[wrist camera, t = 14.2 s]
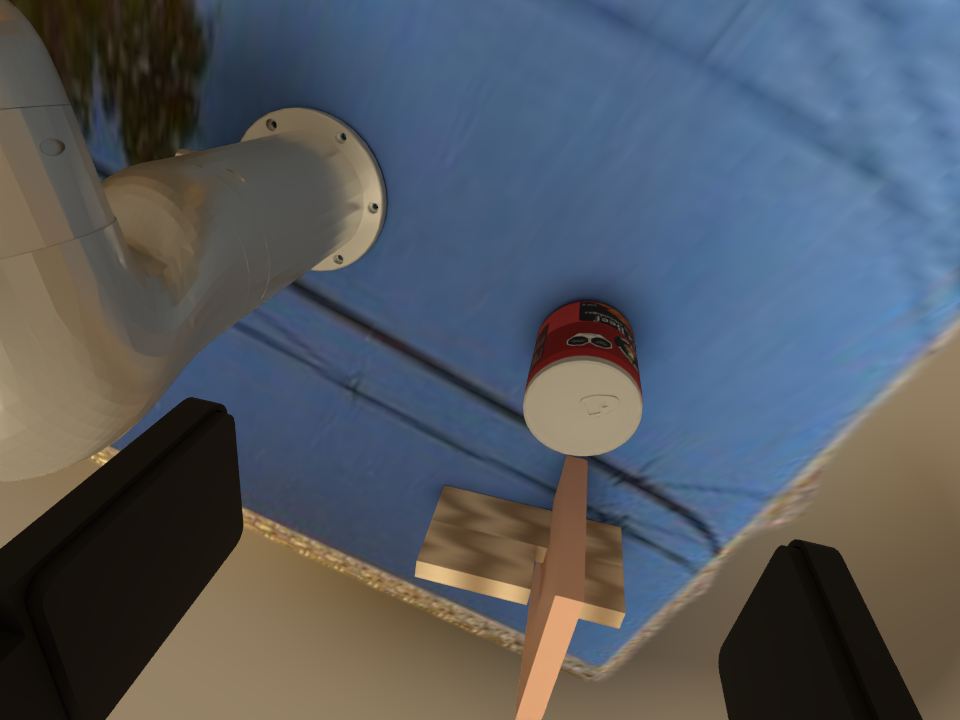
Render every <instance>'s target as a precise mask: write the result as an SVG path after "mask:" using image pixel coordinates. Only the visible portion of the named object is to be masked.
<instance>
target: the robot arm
mask: <svg viewBox="0 0 960 720" xmlns="http://www.w3.org/2000/svg"><path fill="white" fill-rule="evenodd" d="M275 122H276V124H277V127H276V126H275ZM343 133H344V134H345V135H346V140H345V139H344V138H343ZM374 203H376V204H377V205H378V209H377V208H375V206H374ZM386 206H387V200H386V188H385V184H384V180H383V176H382V172H381V170H380V168H379V165H378V163H377V161H376V158H375V156H374V155H373V153H372V152H371V150H370V149H369V147H368V146H367V144H366V143H365V142H364V141H363V139H362V138H361V137H360V136H359V135H358V134H357V133H356V132H355V131H354V130H353V129H352V128H350V127H349V126H348V125H347V124H345V123H344V122H343V121H341V120H340V119H338V118H336V117H334V116H332V115H330V114H328V113H326V112H323V111H319V110H316V109H312V108H301V107H294V108H285V109H281V110H277V111H274V112H270V113H268V114H267V115H265V116H263V117H261V118H260V119H258V120H257V121H256V122H255V123H254V124H253V125H252V126H250V127H249V128H248V129H247V131H246V133H245V134H244V136H243V137H242V139H241V140H240V142H239V143H234V144H230V145H225V146H220V147H216V148H211V149H207V150H202V151H194V150H189V149H184V148H183V149H179V150H178V151H177V152H176V155H175V157H171V158H166V159H160V160H154V161H149V162H145V163H141V164H137V165H134V166H131V167H128V168H125V169H123V170H121V171H118V172H117V173H115V174H113V175H111V176H109V177H108V178H106V179H105V180H103V181H102V182H101V181H100V179H99V176H98V174H97V171H96V168H95V166H94V163H93V161H92V158H91V156H90V153H89V150H88V148H87V145H86V143H85V140H84V137H83V135H82V132H81V130H80V127H79V125H78V122H77V119H76V117H75V114H74V112H73V109H72V106H71V104H70V102H69V100H68V97H67V94H66V92H65V89H64V87H63V84H62V82H61V79H60V77H59V75H58V72H57V70H56V68H55V66H54V64H53V61H52V59H51V57H50V55H49V52H48V51H47V49H46V47H45V45H44V43H43V42H42V40H41V38H40V37H39V35H38V34H37V32H36V31H35V29H34V28H33V26H32V25H31V23H30V22H29V21H28V20H27V19H26V18H25V16H24V15H23V14H22V13H21V12H20V10H18V9H17V8H16V7H15V6H14V5H13V4H12V3H11V2H9V1H8V0H0V481H17V480H24V479H30V478H35V477H40V476H43V475H47V474H50V473H53V472H56V471H60V470H63V469H65V468H68V467H70V466H72V465H75V464H77V463H79V462H81V461H84V460H86V459H88V458H89V457H91V456H93V455H95V454H97V453H98V452H100V451H102V450H103V449H105V448H106V447H108V446H109V445H111V444H112V443H114V442H115V441H117V440H118V439H119V438H121V437H122V436H123V435H124V434H125V433H126V432H128V431H129V430H130V429H131V428H132V427H133V426H135V425H136V424H137V423H138V422H139V421H140V420H141V419H142V418H143V417H144V416H145V415H146V414H147V413H148V412H149V411H150V410H151V409H152V408H153V407H154V406H155V404H156V403H157V402H158V401H159V400H160V399H161V398H162V396H163V395H164V394H165V393H166V391H167V390H168V389H169V388H170V386H171V385H172V384H173V382H174V381H175V380H176V379H177V377H178V376H179V375H180V373H181V372H182V371H183V370H184V368H185V367H186V366H187V365H188V364H189V362H190V361H191V360H192V359H193V358H194V357H195V356H196V355H197V354H198V353H199V352H200V351H201V350H202V349H204V348H205V347H206V346H207V345H208V344H209V343H211V342H212V341H213V340H214V339H215V338H217V337H218V336H219V335H220V334H222V333H223V332H224V331H226V330H227V329H228V328H230V327H231V326H232V325H234V324H235V323H236V322H238V321H239V320H241V319H242V318H243V317H245V316H246V315H248V314H249V313H251V312H252V311H253V310H255V309H256V308H258V307H259V306H260V305H262V304H263V303H264V302H266V301H267V300H269V299H270V298H271V297H273V296H274V295H276V294H277V293H278V292H280V291H281V290H283V289H284V288H285V287H287V286H288V285H290V284H291V283H292V282H294V281H295V280H297V279H298V278H299V277H301V276H302V275H304V274H305V273H306V272H308V271H309V270H312V271H332V270H337V269H340V268H343V267H346V266H348V265H350V264H352V263H354V262H355V261H357V260H358V259H360V258H361V257H362V256H363V255H365V254H366V253H367V252H368V250H369V249H370V248H371V247H372V246H373V245H374V244H375V242H376V240H377V238H378V236H379V235H380V233H381V230H382V227H383V224H384V221H385V215H386ZM340 255H341V256H342V257H343V259H342V258H341V257H340ZM242 531H243V514H242V503H241V491H240V479H239V467H238V456H237V444H236V432H235V422H234V418H233V416H232V415H229V414H228V413H227V409H226V408H225V406H224V405H222V404H219V403H215V402H211V401H206V400H202V399H198V398H194V397H190V398H187V399H185V400H183V401H182V402H181V403H179V404H178V405H177V406H176V407H175V408H173V409H172V410H171V411H170V412H168V413H167V414H166V415H165V416H163V417H162V418H161V419H160V420H159V421H157V422H156V423H155V424H154V425H152V426H151V427H150V428H149V429H147V430H146V431H145V432H144V433H143V434H141V435H140V436H139V437H138V438H136V439H135V440H134V441H133V442H131V443H130V444H129V445H128V446H127V447H125V448H124V449H123V450H122V451H120V452H119V453H118V454H117V455H115V456H114V457H113V458H112V459H110V460H109V461H108V462H107V463H106V464H104V465H103V466H102V467H101V468H99V469H98V470H97V471H96V472H94V473H93V474H92V475H91V476H90V477H88V478H87V479H86V480H85V481H83V482H82V483H81V484H80V485H78V486H77V487H76V488H75V489H74V490H72V491H71V492H70V493H69V494H67V495H66V496H65V497H64V498H63V499H61V500H60V501H59V502H58V503H56V504H55V505H54V506H53V507H51V508H50V509H49V510H48V511H46V512H45V513H44V514H43V515H42V516H40V517H39V518H38V519H37V520H35V521H34V522H33V523H32V524H30V525H29V526H28V527H27V528H26V529H24V530H23V531H22V532H21V533H20V534H18V535H17V536H16V537H14V538H13V539H12V540H11V541H10V542H8V543H7V544H6V545H5V546H3V547H2V548H1V549H0V720H105V719H106V718H107V717H108V716H109V714H110V713H111V712H112V710H113V709H114V708H115V706H116V705H117V704H118V702H119V701H120V700H121V698H122V697H123V696H124V694H125V693H126V692H127V690H128V689H129V688H130V686H131V685H132V684H133V682H134V681H135V680H136V678H137V677H138V676H139V674H140V673H141V672H142V670H143V669H144V668H145V666H146V665H147V664H148V662H149V661H150V660H151V658H152V657H153V656H154V654H155V653H156V652H157V650H158V649H159V647H160V646H161V645H162V644H163V642H164V641H165V640H166V638H167V637H168V636H169V634H170V633H171V632H172V630H173V629H174V628H175V626H176V625H177V624H178V622H179V621H180V620H181V618H182V617H183V616H184V614H185V613H186V612H187V610H188V609H189V608H190V606H191V605H192V604H193V603H194V601H195V600H196V599H197V597H198V596H199V594H200V593H201V592H202V590H203V589H204V588H205V586H206V585H207V584H208V583H209V581H210V580H211V578H212V577H213V576H214V574H215V573H216V572H217V570H218V569H219V568H220V566H221V565H222V564H223V562H224V561H225V560H226V559H227V557H228V556H229V554H230V553H231V552H232V551H233V549H234V548H235V547H236V545H237V543H238V541H239V540H240V537H241V534H242ZM719 673H720V678H721V683H722V688H723V693H724V698H725V703H726V708H727V713H728V718H729V720H923V719H922V717H921V715H920V713H919V711H918V709H917V707H916V705H915V703H914V701H913V699H912V697H911V695H910V693H909V691H908V689H907V687H906V685H905V683H904V681H903V679H902V677H901V675H900V672H899V670H898V668H897V666H896V665H895V663H894V661H893V659H892V657H891V655H890V653H889V651H888V649H887V647H886V645H885V643H884V641H883V639H882V637H881V635H880V633H879V631H878V629H877V627H876V624H875V622H874V620H873V618H872V616H871V614H870V612H869V610H868V608H867V606H866V604H865V602H864V600H863V598H862V596H861V594H860V592H859V590H858V588H857V586H856V584H855V582H854V580H853V578H852V576H851V574H850V572H849V570H848V568H847V566H846V564H845V562H844V560H843V558H842V556H841V554H840V553H839V551H838V550H836V549H835V548H832V547H828V546H824V545H820V544H816V543H811V542H807V541H802V540H796V539H795V540H793V541H792V542H790V543H789V545H788V546H783V545H781V546H779V547H778V548H777V549H776V551H775V553H774V554H773V556H772V558H771V559H770V561H769V563H768V565H767V567H766V569H765V570H764V572H763V574H762V576H761V577H760V579H759V581H758V583H757V585H756V586H755V588H754V590H753V592H752V594H751V595H750V597H749V599H748V601H747V602H746V604H745V606H744V608H743V609H742V611H741V613H740V615H739V616H738V618H737V620H736V622H735V624H734V625H733V627H732V629H731V631H730V632H729V634H728V636H727V638H726V640H725V641H724V643H723V645H722V647H721V649H720V653H719Z"/></svg>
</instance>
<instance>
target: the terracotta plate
mask: <svg viewBox="0 0 960 720" xmlns="http://www.w3.org/2000/svg"><path fill="white" fill-rule="evenodd" d="M587 473H588V460H585V459H581V458H577V457H572V456H568V455H567V456H566V459H565V463H564V466H563V470H562V473H561V477H560V480H559V484H558V487H557V491H556V494H555V498H554V501H553V509H552V519H551V529H550V538H549V544H548V548H547V551H546V554H545V558H544V561H543V563H540V562H536V565H535V568H534V572H533V579H532V587H531V595H530V603H529V611H528V619H527V626H526V634H525V642H524V650H523V658H522V666H521V673H520V682H519V689H518V697H517V705H516V713H515V720H542V717H543V714H544V711H545V709H546V706H547V703H548V701H549V698H550V695H551V692H552V690H553V686H554V684H555V681H556V678H557V676H558V673H559V670H560V667H561V665H562V662H563V659H564V656H565V654H566V651H567V648H568V645H569V643H570V640H571V637H572V634H573V632H574V629H575V626H576V623H577V621H578V618H579V615H580V612H581V610H582V607H583V604H584V585H585V548H586V510H587Z"/></svg>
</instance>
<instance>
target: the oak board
mask: <svg viewBox="0 0 960 720" xmlns="http://www.w3.org/2000/svg"><path fill="white" fill-rule="evenodd" d="M551 519H552V511H550V510H546V509H542V508H538V507H534V506H529V505H525V504H521V503H517V502H513V501H508V500H504V499H500V498H496V497H492V496H487V495H483V494H479V493H475V492H471V491H466V490H462V489H458V488H454V487H450V486H445V485H444V488H443V491H442V493H441V496H440V499H439V502H438V504H437V507H436V510H435V513H434V515H433V518H432V521H431V523H430V526H429V529H428V532H427V534H426V537H425V540H424V543H423V545H422V548H421V551H420V554H419V556H418V559H417V564H416V572H415V577H419V578H423V579H427V580H430V581H434V582H438V583H442V584H446V585H450V586H454V587H458V588H462V589H466V590H470V591H474V592H478V593H481V594H485V595H489V596H493V597H497V598H501V599H505V600H509V601H513V602H517V603H521V604H525V605H527V602H528V598H529V595H530V591H531V585H532V577H533V569H534V561H536V562H540V563H543V561H544V558H545V554H546V551H547V548H548V544H549V538H550V529H551ZM624 616H625V595H624V575H623V554H622V534H621V527H618V526H613V525H609V524H605V523H601V522H597V521H592V520H588V519H586V548H585V585H584V604H583V607H582V610H581V612H580V615H579V619H583V620H587V621H591V622H595V623H599V624H603V625H607V626H611V627H615V628H620V625H621V623H622V620H623V618H624Z"/></svg>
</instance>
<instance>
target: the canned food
mask: <svg viewBox="0 0 960 720" xmlns="http://www.w3.org/2000/svg"><path fill="white" fill-rule="evenodd" d="M523 404H524V405H523V408H524V417H525V420H526V423H527V425H528V427H529V429H530V431H531V432H532V433H533V434H534V436H535V437H536V438H537V439H538V440H539V441H541V442H542V443H543V444H544V445H546V446H548V447H549V448H551V449H553V450H555V451H558V452H561V453H564V454H569V455H574V456H591V455H599V454H602V453H605V452H609V451H611V450H613V449H615V448H617V447H619V446H620V445H622V444H623V443H624V442H626V441H627V440H628V439H629V438H630V437H631V436H632V435H633V434H634V432H635V430H636V429H637V427H638V425H639V423H640V419H641V416H642V405H643V400H642V390H641V383H640V376H639V369H638V361H637V354H636V347H635V340H634V335H633V331H632V329H631V327H630V324H629V323H628V322H627V320H626V319H625V318H624V317H623V316H622V315H621V314H620V313H619V312H618V311H616V310H615V309H613V308H611V307H610V306H608V305H605V304H602V303H599V302H593V301H579V302H575V303H571V304H568V305H566V306H563V307H562V308H560V309H558V310H557V311H555V312H554V313H553V314H552V315H550V316H549V317H548V318H547V319H546V321H545V322H544V323H543V325H542V326H541V329H540V331H539V333H538V337H537V341H536V345H535V350H534V354H533V358H532V362H531V367H530V371H529V375H528V380H527V384H526V389H525V395H524V400H523Z"/></svg>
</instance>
